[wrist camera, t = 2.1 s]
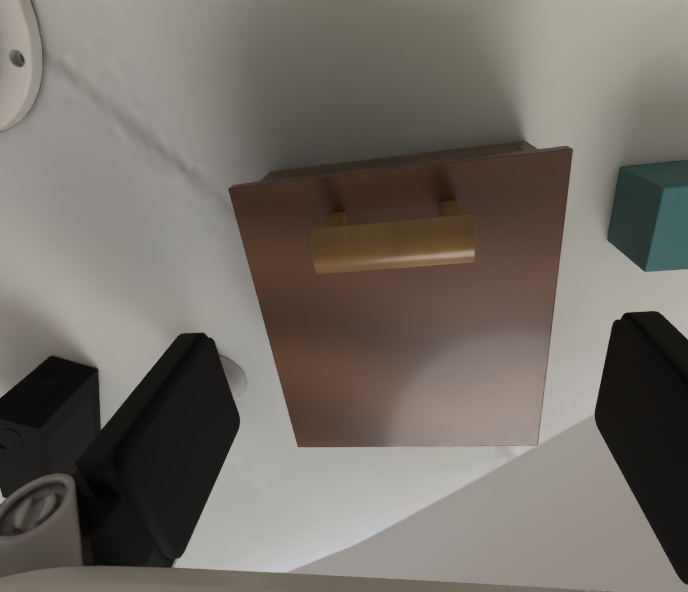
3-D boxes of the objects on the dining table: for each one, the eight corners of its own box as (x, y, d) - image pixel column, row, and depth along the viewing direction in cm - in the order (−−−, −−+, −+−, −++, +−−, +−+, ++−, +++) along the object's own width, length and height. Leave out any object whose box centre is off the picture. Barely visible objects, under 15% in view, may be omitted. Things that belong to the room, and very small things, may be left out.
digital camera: (36, 350, 36) (-38, 408, 30) (98, 367, 36) (37, 429, 30) (47, 430, 41) (-14, 494, 35) (101, 445, 41) (50, 511, 35)
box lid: (232, 184, 20) (183, 221, 15) (567, 145, 18) (628, 175, 13) (299, 439, 28) (280, 513, 24) (534, 436, 26) (565, 519, 21)
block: (619, 166, 24) (663, 187, 20) (709, 157, 23) (772, 176, 19) (607, 240, 26) (644, 272, 22) (688, 234, 25) (741, 265, 21)
